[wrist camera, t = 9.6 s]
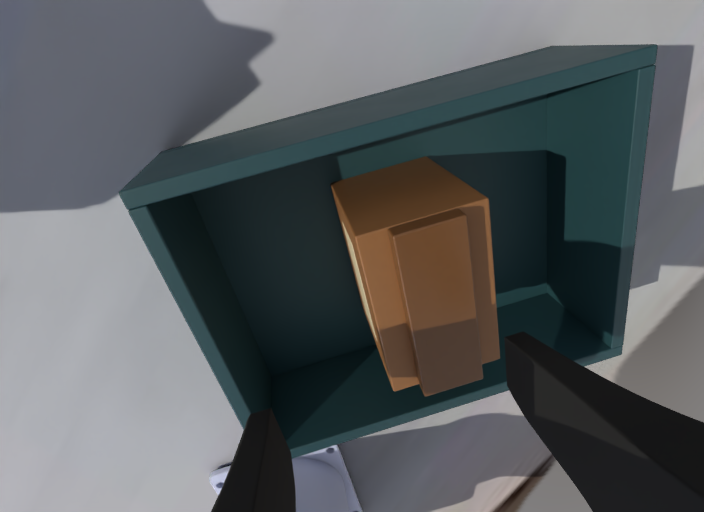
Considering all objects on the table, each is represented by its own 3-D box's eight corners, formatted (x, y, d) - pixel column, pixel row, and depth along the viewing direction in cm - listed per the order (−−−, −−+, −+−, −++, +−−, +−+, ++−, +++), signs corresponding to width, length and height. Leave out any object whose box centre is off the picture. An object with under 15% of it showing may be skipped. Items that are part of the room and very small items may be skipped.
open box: (550, 293, 24) (622, 355, 19) (264, 380, 23) (263, 468, 18) (552, 45, 18) (659, 43, 13) (160, 151, 17) (116, 192, 12)
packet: (426, 155, 18) (501, 204, 12) (445, 284, 22) (510, 370, 16) (329, 182, 18) (358, 246, 12) (362, 308, 21) (397, 406, 16)
